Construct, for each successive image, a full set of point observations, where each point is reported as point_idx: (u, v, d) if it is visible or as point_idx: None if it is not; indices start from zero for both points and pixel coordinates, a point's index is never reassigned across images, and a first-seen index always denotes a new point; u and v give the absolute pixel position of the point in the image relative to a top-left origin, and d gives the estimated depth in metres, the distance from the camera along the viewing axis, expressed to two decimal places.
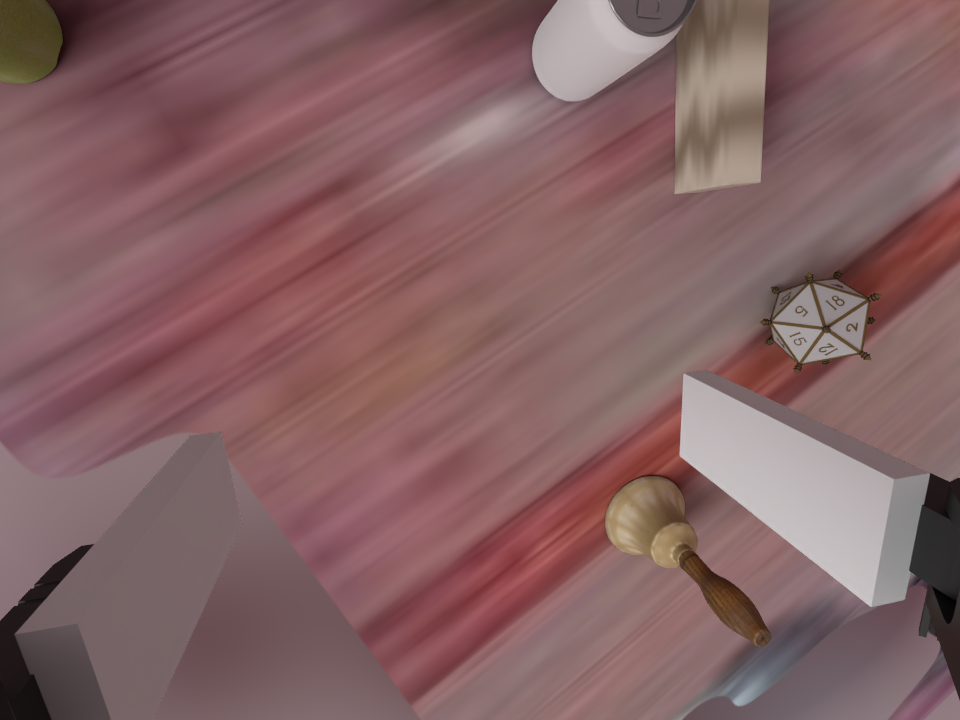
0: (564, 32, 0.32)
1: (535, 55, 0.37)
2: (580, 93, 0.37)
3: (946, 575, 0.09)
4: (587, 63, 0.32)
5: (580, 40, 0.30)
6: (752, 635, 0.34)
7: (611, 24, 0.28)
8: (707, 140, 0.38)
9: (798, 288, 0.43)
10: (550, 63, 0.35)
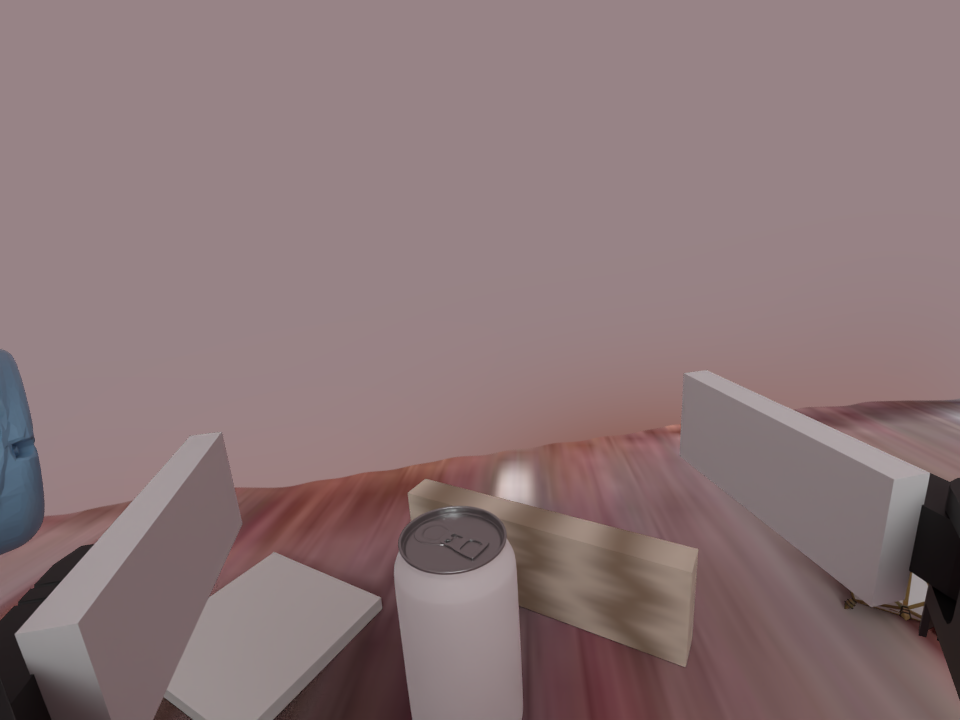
0: (438, 666, 0.25)
1: None
2: (512, 708, 0.27)
3: (946, 575, 0.09)
4: (484, 654, 0.25)
5: (456, 641, 0.24)
6: None
7: (463, 586, 0.24)
8: (632, 592, 0.32)
9: None
10: None
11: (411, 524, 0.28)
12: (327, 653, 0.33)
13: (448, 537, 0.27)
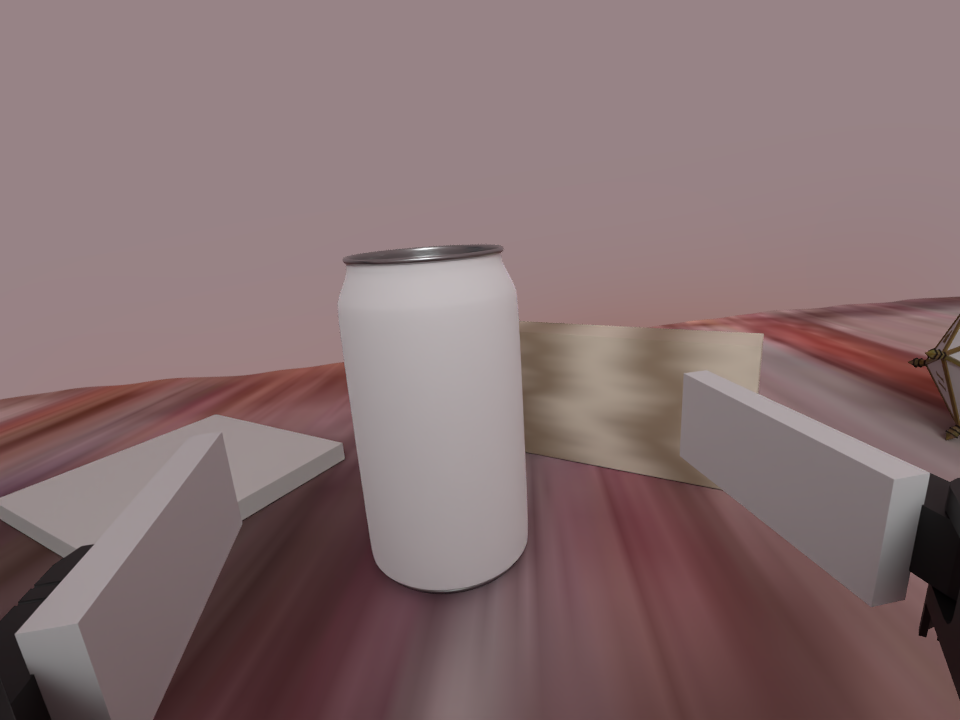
0: (400, 423, 0.16)
1: (405, 566, 0.18)
2: (512, 512, 0.19)
3: (946, 575, 0.09)
4: (470, 404, 0.16)
5: (427, 376, 0.16)
6: None
7: (436, 283, 0.15)
8: (673, 397, 0.24)
9: (956, 377, 0.26)
10: (432, 516, 0.17)
11: (366, 257, 0.19)
12: (265, 490, 0.25)
13: None
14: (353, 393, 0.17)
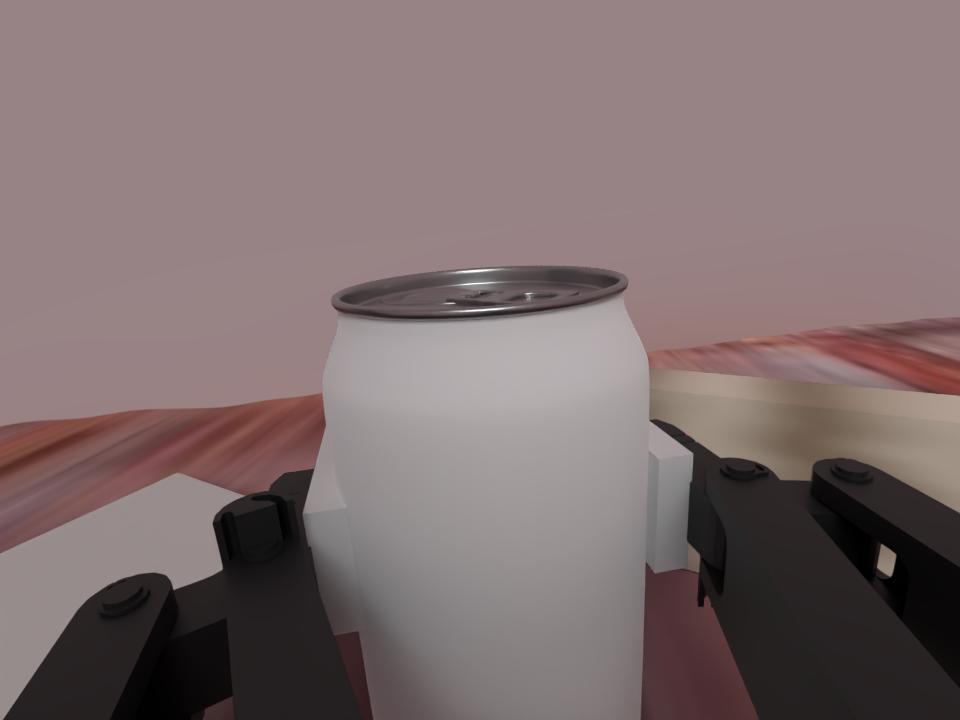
0: (443, 623, 0.08)
1: None
2: None
3: (712, 550, 0.10)
4: (578, 587, 0.08)
5: (501, 543, 0.08)
6: None
7: (523, 360, 0.07)
8: None
9: None
10: None
11: (375, 288, 0.11)
12: None
13: None
14: None
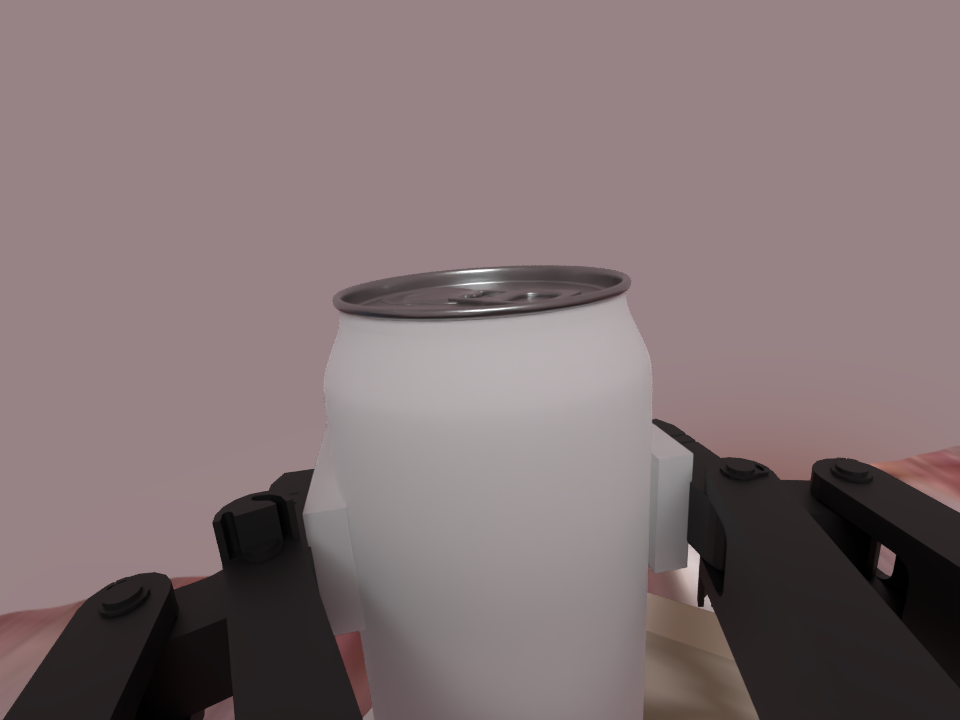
0: (445, 625, 0.08)
1: None
2: None
3: (712, 550, 0.10)
4: (581, 588, 0.08)
5: (504, 544, 0.08)
6: None
7: (525, 360, 0.07)
8: None
9: None
10: None
11: (375, 288, 0.11)
12: None
13: None
14: (352, 547, 0.09)
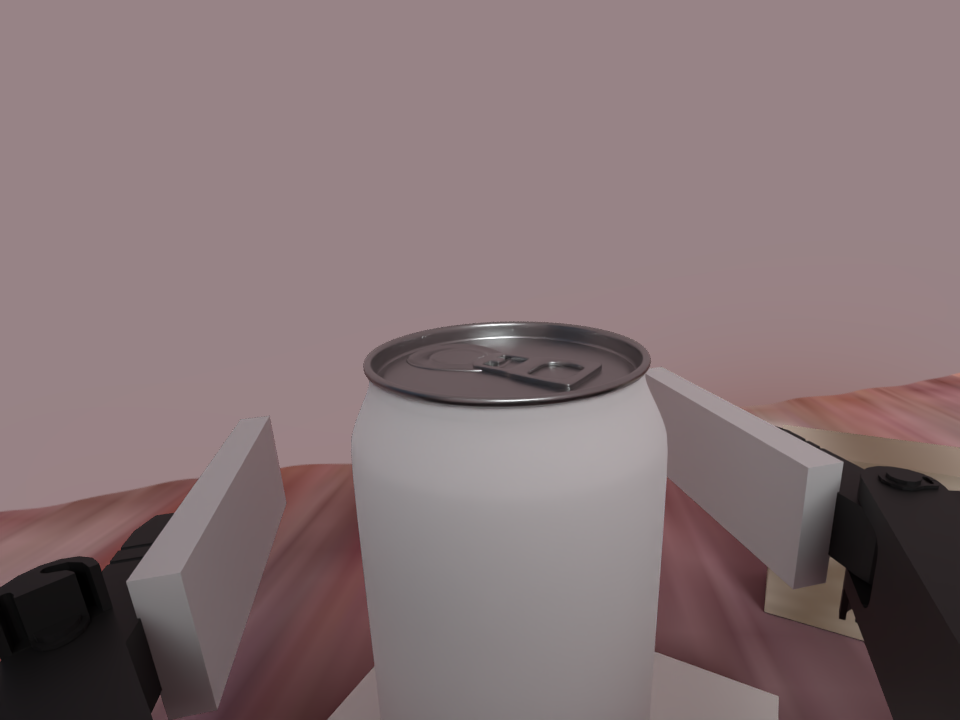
0: (464, 688, 0.09)
1: None
2: None
3: (861, 561, 0.09)
4: (595, 658, 0.09)
5: (524, 618, 0.08)
6: None
7: (551, 446, 0.08)
8: None
9: None
10: None
11: (400, 343, 0.12)
12: None
13: (492, 359, 0.11)
14: (375, 603, 0.10)
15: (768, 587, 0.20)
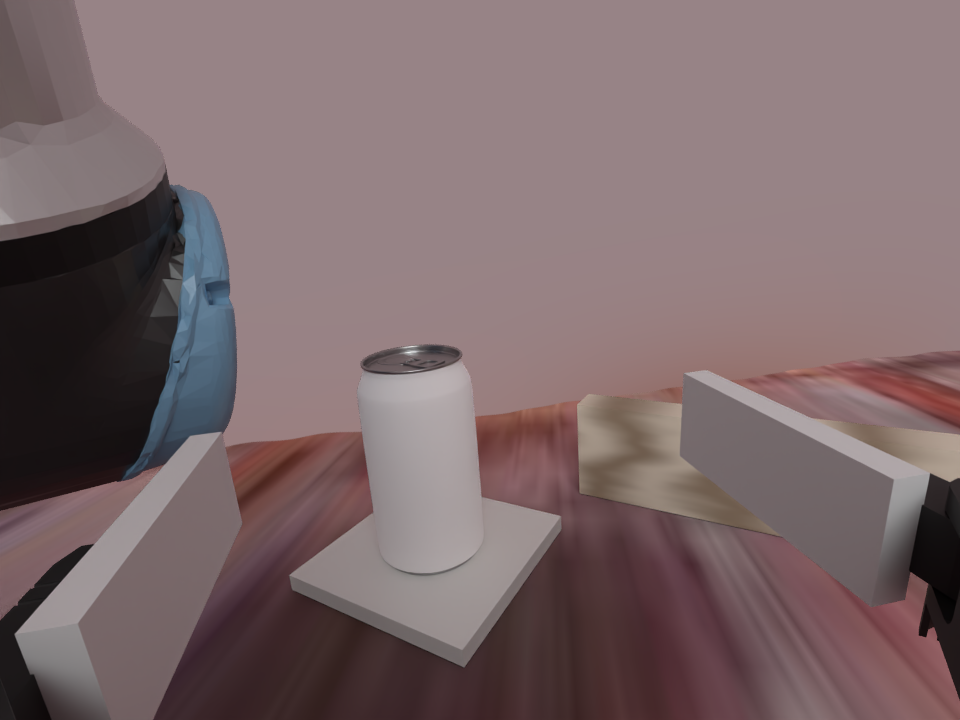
0: (396, 468, 0.27)
1: (400, 557, 0.28)
2: (469, 522, 0.29)
3: (946, 575, 0.09)
4: (439, 456, 0.27)
5: (412, 440, 0.26)
6: None
7: (417, 385, 0.26)
8: None
9: None
10: (417, 525, 0.27)
11: (375, 355, 0.30)
12: (525, 567, 0.29)
13: (408, 360, 0.28)
14: (367, 448, 0.28)
15: (579, 479, 0.37)
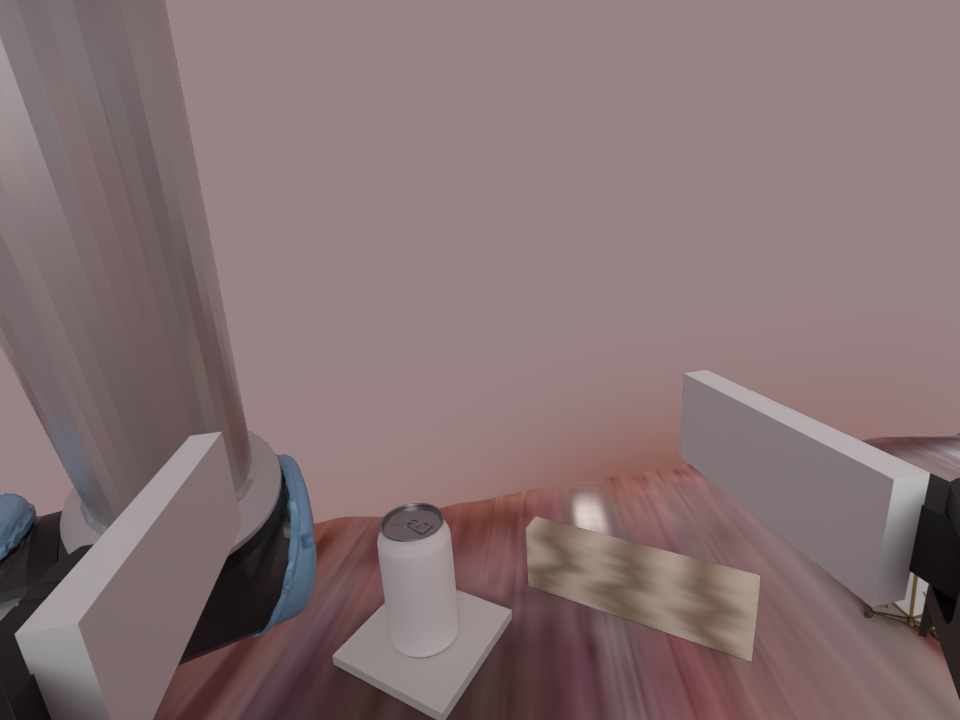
0: (402, 596, 0.43)
1: (404, 647, 0.44)
2: (448, 624, 0.45)
3: (946, 575, 0.09)
4: (429, 588, 0.43)
5: (412, 580, 0.42)
6: None
7: (415, 548, 0.42)
8: (711, 607, 0.44)
9: None
10: (415, 629, 0.44)
11: (388, 514, 0.46)
12: (485, 652, 0.45)
13: (409, 521, 0.45)
14: (383, 579, 0.44)
15: (528, 576, 0.54)
